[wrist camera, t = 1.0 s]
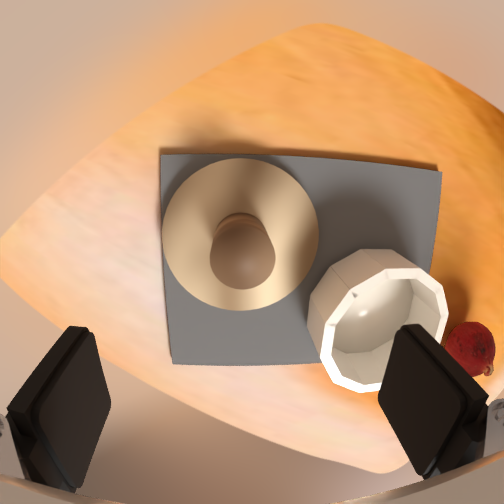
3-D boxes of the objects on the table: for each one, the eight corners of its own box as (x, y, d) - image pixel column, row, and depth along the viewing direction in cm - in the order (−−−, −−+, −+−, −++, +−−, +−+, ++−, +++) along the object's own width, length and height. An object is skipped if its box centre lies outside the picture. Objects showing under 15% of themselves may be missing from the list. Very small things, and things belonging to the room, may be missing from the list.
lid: (319, 161, 24) (345, 163, 18) (309, 304, 28) (327, 341, 22) (163, 158, 23) (142, 159, 18) (168, 304, 27) (154, 341, 21)
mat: (438, 171, 25) (442, 171, 25) (407, 350, 31) (409, 353, 30) (162, 154, 24) (160, 154, 23) (173, 360, 29) (172, 364, 29)
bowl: (425, 248, 27) (459, 267, 22) (402, 350, 30) (427, 381, 25) (312, 246, 26) (331, 269, 21) (301, 359, 29) (313, 397, 24)
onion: (431, 322, 30) (472, 362, 22) (471, 302, 30) (515, 335, 22) (432, 362, 32) (467, 403, 24) (470, 341, 31) (507, 377, 24)
